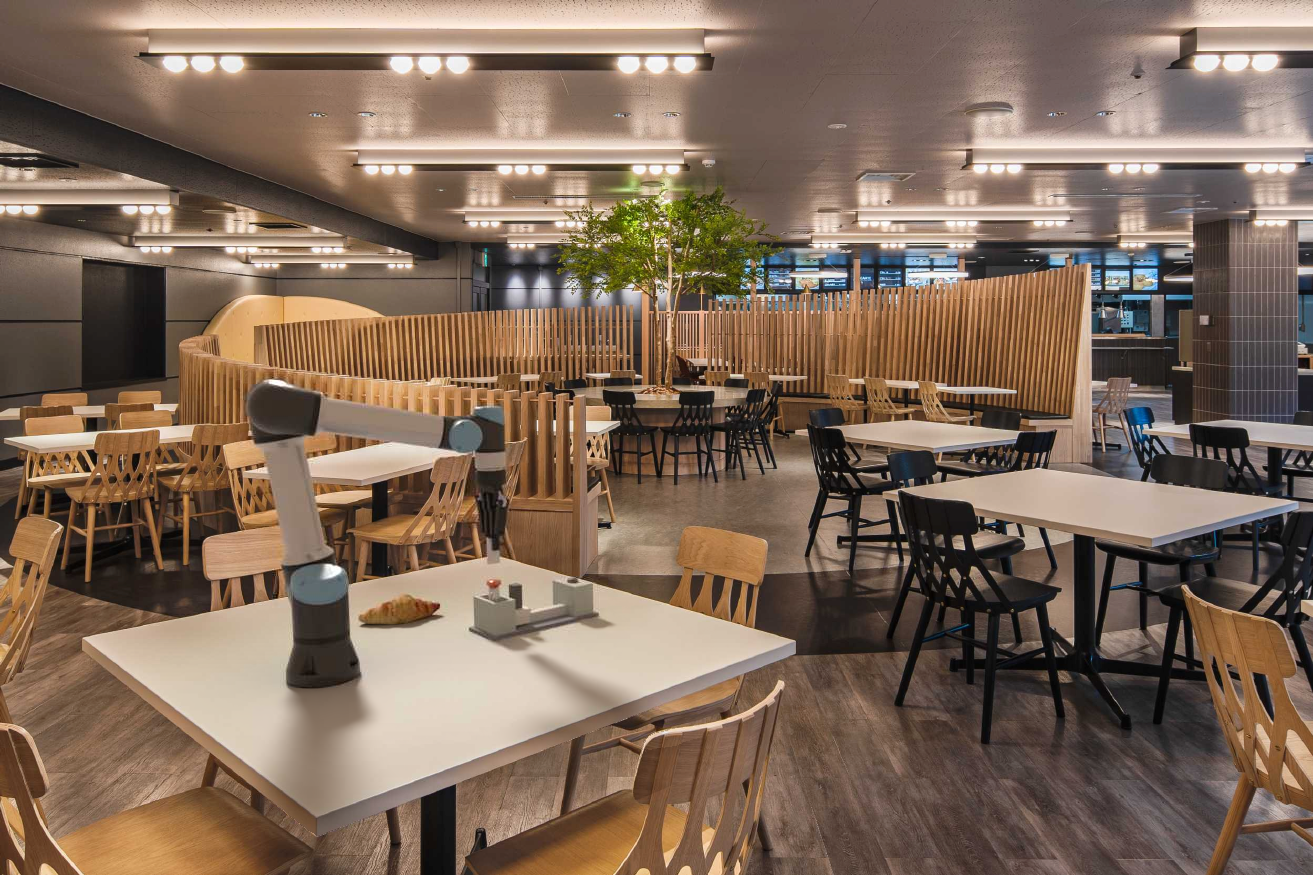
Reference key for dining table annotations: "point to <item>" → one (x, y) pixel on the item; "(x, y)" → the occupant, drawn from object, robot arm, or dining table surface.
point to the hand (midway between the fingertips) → (493, 562)
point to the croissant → (399, 611)
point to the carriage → (519, 604)
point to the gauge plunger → (494, 589)
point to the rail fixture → (534, 611)
